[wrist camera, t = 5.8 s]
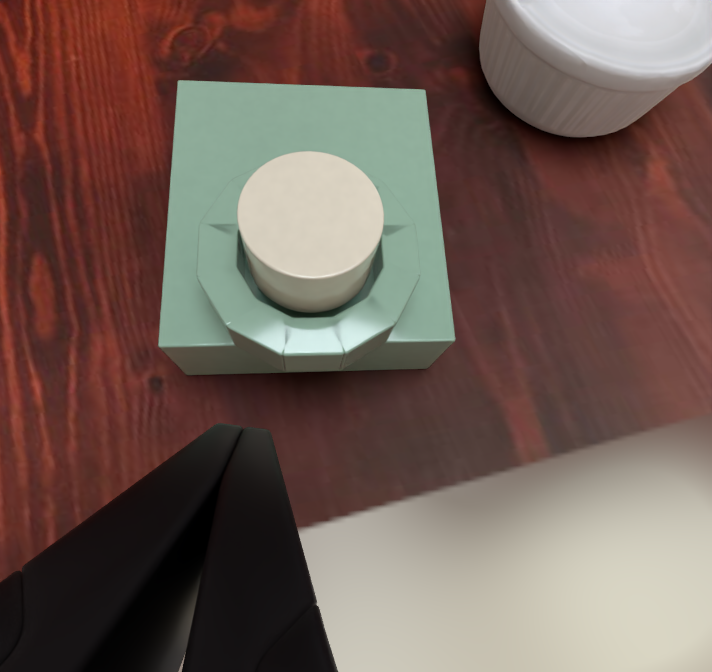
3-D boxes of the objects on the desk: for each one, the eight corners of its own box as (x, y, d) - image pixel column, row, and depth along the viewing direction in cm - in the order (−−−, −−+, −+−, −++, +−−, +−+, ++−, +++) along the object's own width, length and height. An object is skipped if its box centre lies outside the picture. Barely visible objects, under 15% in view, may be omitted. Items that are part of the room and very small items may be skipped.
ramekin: (464, -19, 28) (499, -130, 23) (648, 16, 29) (720, -84, 24) (454, 138, 25) (492, 47, 20) (664, 174, 25) (753, 95, 20)
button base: (430, 390, 20) (479, 351, 15) (184, 399, 19) (134, 359, 14) (406, 152, 24) (438, 47, 18) (198, 147, 23) (163, 33, 17)
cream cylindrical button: (376, 312, 15) (389, 278, 13) (246, 314, 15) (234, 279, 12) (368, 201, 16) (379, 151, 14) (248, 200, 16) (238, 148, 14)
